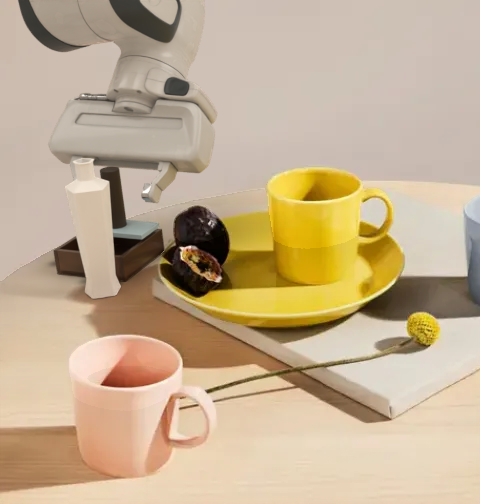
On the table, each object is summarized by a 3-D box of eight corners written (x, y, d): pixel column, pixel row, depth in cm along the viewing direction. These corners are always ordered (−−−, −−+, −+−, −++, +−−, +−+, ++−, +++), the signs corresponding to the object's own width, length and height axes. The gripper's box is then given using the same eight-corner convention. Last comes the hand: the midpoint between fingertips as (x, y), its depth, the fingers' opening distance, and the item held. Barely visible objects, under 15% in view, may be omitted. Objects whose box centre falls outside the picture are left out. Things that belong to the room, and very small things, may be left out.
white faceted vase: (72, 298, 103) (50, 166, 97) (95, 281, 107) (75, 154, 101) (109, 302, 102) (89, 169, 96) (131, 286, 106) (113, 156, 100)
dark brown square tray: (57, 274, 109) (52, 250, 108) (99, 245, 117) (96, 222, 116) (125, 281, 107) (122, 257, 106) (164, 251, 115) (162, 228, 113)
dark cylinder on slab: (75, 233, 112) (66, 172, 109) (95, 221, 116) (86, 161, 113) (141, 239, 109) (133, 177, 106) (159, 227, 113) (152, 166, 110)
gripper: (58, 79, 116) (22, 179, 111) (210, 85, 110) (179, 192, 105) (84, 106, 121) (51, 203, 117) (229, 113, 116) (201, 215, 111)
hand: (113, 197), depth 111 cm, fingers open, 8 cm apart
